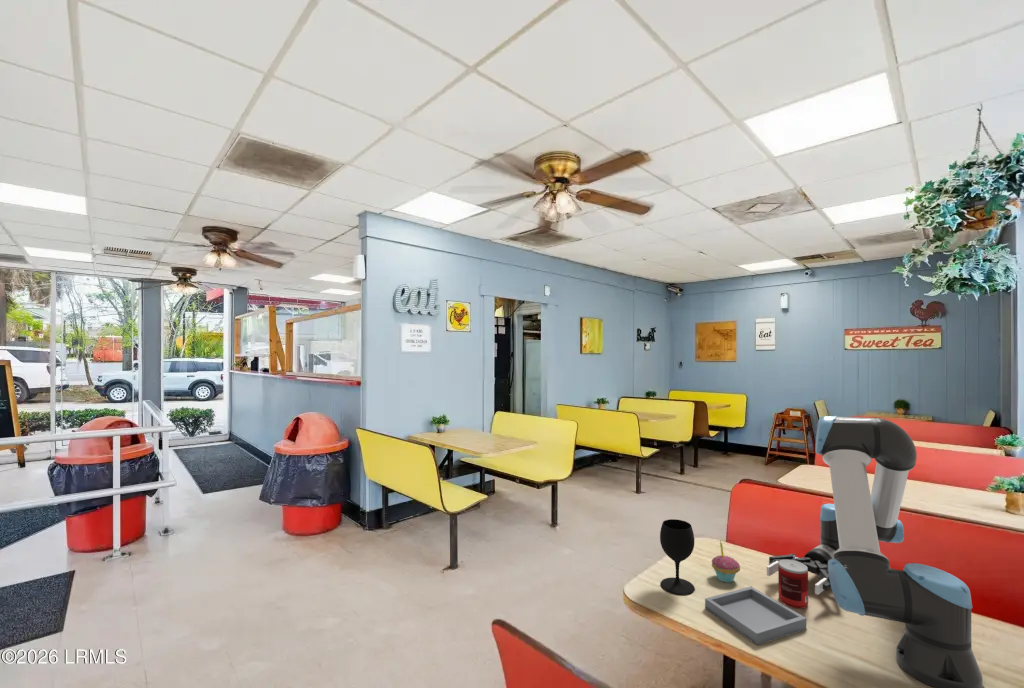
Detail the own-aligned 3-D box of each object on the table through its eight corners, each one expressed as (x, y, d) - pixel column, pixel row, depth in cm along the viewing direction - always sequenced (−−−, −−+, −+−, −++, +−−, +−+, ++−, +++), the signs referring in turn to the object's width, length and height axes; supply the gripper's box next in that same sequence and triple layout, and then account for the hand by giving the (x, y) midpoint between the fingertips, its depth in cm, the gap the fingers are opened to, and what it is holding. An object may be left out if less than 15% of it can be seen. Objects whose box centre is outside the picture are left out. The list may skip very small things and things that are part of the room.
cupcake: (705, 575, 158) (705, 540, 158) (724, 570, 161) (723, 535, 161) (727, 587, 150) (727, 550, 150) (746, 581, 153) (745, 545, 153)
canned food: (800, 595, 145) (799, 559, 145) (813, 609, 137) (813, 572, 137) (773, 594, 146) (773, 558, 146) (786, 608, 138) (785, 571, 138)
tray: (806, 629, 128) (806, 618, 128) (756, 645, 122) (756, 633, 122) (751, 596, 145) (751, 586, 145) (705, 608, 138) (705, 598, 138)
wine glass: (697, 583, 153) (696, 521, 153) (691, 598, 144) (691, 533, 144) (664, 575, 158) (663, 516, 158) (657, 590, 149) (656, 526, 149)
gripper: (867, 587, 144) (838, 611, 132) (781, 557, 164) (750, 576, 152) (866, 563, 144) (838, 584, 132) (781, 536, 164) (749, 552, 152)
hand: (791, 580), depth 142 cm, fingers open, 13 cm apart
